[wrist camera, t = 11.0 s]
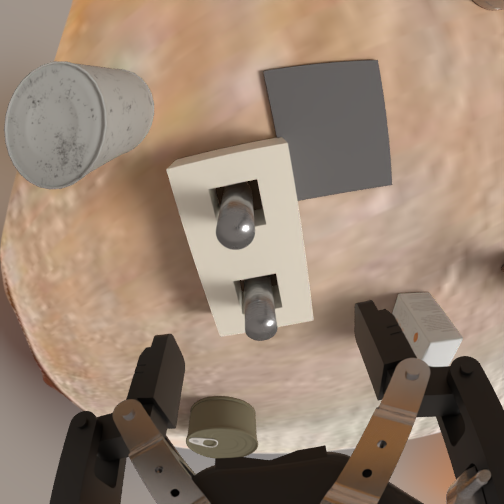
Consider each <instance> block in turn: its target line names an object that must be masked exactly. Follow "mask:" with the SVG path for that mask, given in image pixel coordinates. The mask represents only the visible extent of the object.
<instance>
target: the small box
mask: <svg viewBox="0 0 504 504" xmlns="http://www.w3.org/2000/svg"><path fill="white" fill-rule="evenodd" d="M392 314H393V315H394V316H395V318H396V320H397V322H398V324H399V326H400V327H401V329H402V332H403V333H404V335H405V336H406V338H407V340H408V342H409V344H410V346H411V348H412V349H413V351H414V353H415V355H416V357H417V358H418V359H421V360H423V361H424V362H426V363H427V364H428V366H432V367H444V366H449V364H450V362H451V360H452V359H453V357H454V355H455V353H456V351H457V349H458V347H459V345H460V343H461V341H462V340H463V337H462V336H461V334H460V333H459V331H458V330H457V329H456V327H455V326H454V325H453V323H452V322H451V320H450V319H449V318H448V316H447V315H446V314H445V312H444V311H443V310H442V308H441V307H440V306H439V305H438V303H437V302H436V301H435V299H434V298H433V297H432V295H431V294H430V293H429V292H424V293H400V294H398V296H397V300H396V303H395V306H394V309H393V312H392Z"/></svg>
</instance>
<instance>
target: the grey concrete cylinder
mask: <svg viewBox="0 0 504 504" xmlns="http://www.w3.org/2000/svg"><path fill="white" fill-rule="evenodd" d="M153 116H154V102H153V97H152V93H151V91H150V89H149V87H148V85H147V84H146V83H145V82H144V81H143V79H142V78H140V77H139V76H137V75H136V74H135V73H133V72H130V71H127V70H122V69H111V68H105V67H97V66H90V65H81V64H73V63H70V62H51V63H48V64H44V65H42V66H40V67H38V68H37V69H35V70H33V71H32V72H31V73H29V74H28V75H27V76H26V77H25V78H24V79H23V80H22V81H21V83H20V84H19V86H18V87H17V88H16V90H15V92H14V94H13V95H12V98H11V100H10V102H9V105H8V109H7V112H6V117H5V127H4V131H5V142H6V146H7V150H8V154H9V156H10V158H11V160H12V162H13V164H14V166H15V168H16V169H17V170H18V172H19V173H20V174H21V175H22V176H23V177H24V178H25V179H26V180H28V181H29V182H30V183H32V184H34V185H36V186H38V187H41V188H46V189H62V188H64V187H67V186H70V185H73V184H74V183H76V182H77V181H79V180H80V179H82V178H83V177H84V176H85V175H87V174H88V173H90V172H92V171H93V170H95V169H97V168H98V167H100V166H102V165H104V164H105V163H107V162H109V161H111V160H112V159H114V158H116V157H118V156H120V155H121V154H124V153H127V152H129V151H130V150H132V149H134V148H135V147H136V146H137V145H138V144H140V143H141V142H142V141H143V139H144V138H145V136H146V135H147V134H148V132H149V129H150V127H151V125H152V121H153Z"/></svg>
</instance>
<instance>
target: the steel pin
mask: <svg viewBox="0 0 504 504" xmlns="http://www.w3.org/2000/svg"><path fill="white" fill-rule="evenodd" d="M254 236H255V224H254V211H253V199H252V190H251V187H250V186H249V184H248V183H246V182H241V183H236V184H231V185H226V186H225V188H224V192H223V197H222V201H221V206H220V211H219V216H218V221H217V226H216V237H217V239H218V241H219V242H220V243H221V244H222V245H223V246H224V247H226V248H228V249H232V250H239V249H243V248H245V247H247V246H248V245H249V244H250V243H251V242H252V241H253V239H254Z"/></svg>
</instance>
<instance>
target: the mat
mask: <svg viewBox="0 0 504 504" xmlns="http://www.w3.org/2000/svg"><path fill="white" fill-rule="evenodd" d="M263 73H264V78H265V82H266V87H267V92H268V97H269V101H270V106H271V111H272V116H273V121H274V126H275V131H276V136H277V138H280V137H282V138H283V139H284V140H285V141H286V142H287V143H288V148H289V153H290V159H291V165H292V170H293V176H294V182H295V188H296V194H297V201H300V200H305V199H311V198H316V197H322V196H327V195H333V194H339V193H345V192H351V191H357V190H363V189H369V188H375V187H381V186H388V185H392V174H391V159H390V147H389V136H388V127H387V118H386V110H385V102H384V95H383V89H382V82H381V76H380V70H379V65H378V60H367V61H347V62H333V63H321V64H311V65H303V66H295V67H287V68H280V69H274V70H268V71H263Z"/></svg>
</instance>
